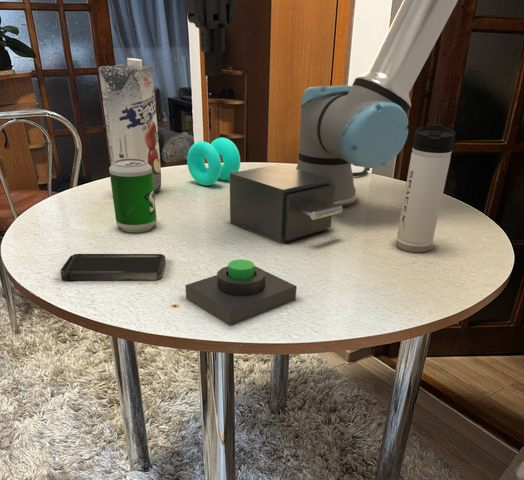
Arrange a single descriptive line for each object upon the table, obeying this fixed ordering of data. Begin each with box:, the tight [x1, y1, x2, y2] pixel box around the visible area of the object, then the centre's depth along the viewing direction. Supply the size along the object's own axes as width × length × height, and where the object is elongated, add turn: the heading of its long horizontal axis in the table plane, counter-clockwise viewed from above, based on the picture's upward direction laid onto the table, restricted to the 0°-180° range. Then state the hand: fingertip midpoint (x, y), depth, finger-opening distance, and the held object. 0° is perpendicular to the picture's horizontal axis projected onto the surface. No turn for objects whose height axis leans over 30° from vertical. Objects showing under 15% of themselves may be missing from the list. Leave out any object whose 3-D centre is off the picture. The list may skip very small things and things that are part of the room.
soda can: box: [108, 158, 157, 233], centre depth 94 cm, size 8×8×12 cm
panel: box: [185, 265, 297, 326], centre depth 72 cm, size 12×10×4 cm
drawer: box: [283, 185, 344, 240], centre depth 95 cm, size 18×11×8 cm, turn 42°
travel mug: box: [395, 123, 456, 253], centre depth 87 cm, size 6×7×20 cm
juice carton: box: [98, 57, 162, 194], centre depth 109 cm, size 9×10×27 cm
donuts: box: [186, 137, 241, 186], centre depth 124 cm, size 10×10×10 cm
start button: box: [227, 258, 255, 280], centre depth 70 cm, size 4×4×2 cm
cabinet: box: [229, 164, 332, 244], centre depth 97 cm, size 15×13×10 cm
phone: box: [59, 253, 167, 281], centre depth 80 cm, size 8×1×15 cm
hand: (213, 75), depth 83 cm, fingers closed
